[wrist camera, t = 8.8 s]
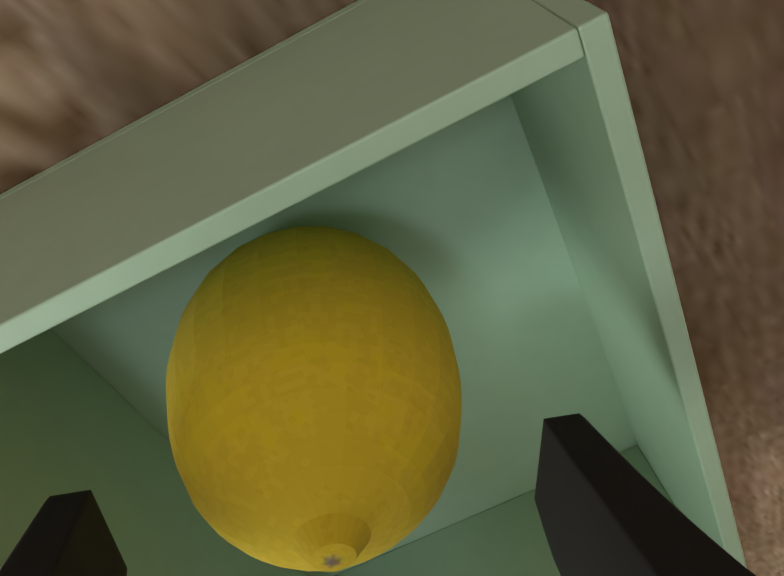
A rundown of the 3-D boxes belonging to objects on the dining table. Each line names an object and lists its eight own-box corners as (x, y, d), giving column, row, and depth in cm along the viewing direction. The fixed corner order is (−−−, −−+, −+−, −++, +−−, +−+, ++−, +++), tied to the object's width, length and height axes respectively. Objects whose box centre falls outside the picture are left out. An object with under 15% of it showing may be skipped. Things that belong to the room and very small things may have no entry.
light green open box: (645, 437, 23) (760, 619, 18) (312, 581, 24) (326, 787, 19) (471, -63, 13) (609, 11, 8) (-61, 226, 15) (-235, 445, 10)
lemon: (174, 163, 14) (104, 442, 8) (427, 165, 15) (551, 415, 9) (196, 362, 17) (158, 682, 11) (406, 353, 18) (486, 642, 12)
